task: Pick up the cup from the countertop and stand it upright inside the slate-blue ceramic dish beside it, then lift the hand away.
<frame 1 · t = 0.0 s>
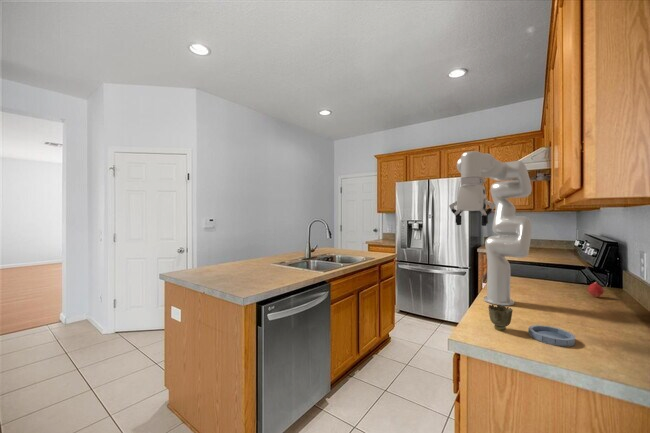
hand: (471, 225, 114), 37 cm above the table, tool pointing down, fingers open, 9 cm apart
dish: (551, 338, 95), on the table
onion: (595, 297, 144), on the table
cup: (500, 330, 102), on the table
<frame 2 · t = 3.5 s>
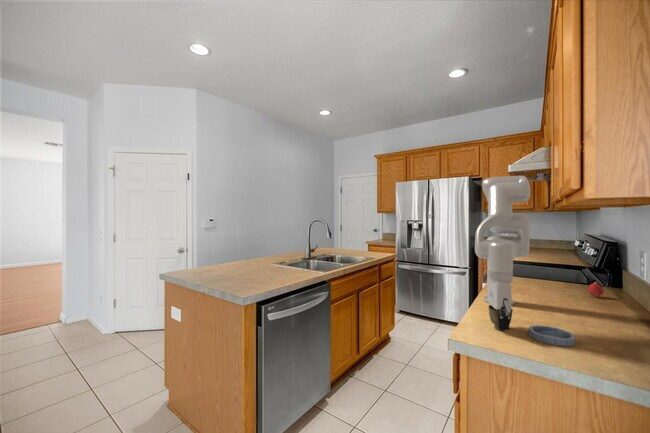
hand: (500, 325, 102), 2 cm above the table, tool pointing down, fingers closed on cup, 6 cm apart
cup: (500, 329, 102), on the table, touching gripper
everything else where it was.
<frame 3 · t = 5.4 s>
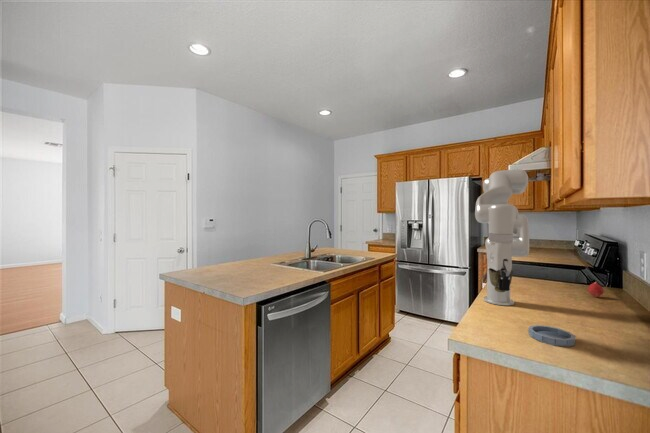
hand: (500, 287, 103), 15 cm above the table, tool pointing down, fingers closed on cup, 6 cm apart
cup: (500, 291, 103), point 13 cm above the table, touching gripper
everything else where it was.
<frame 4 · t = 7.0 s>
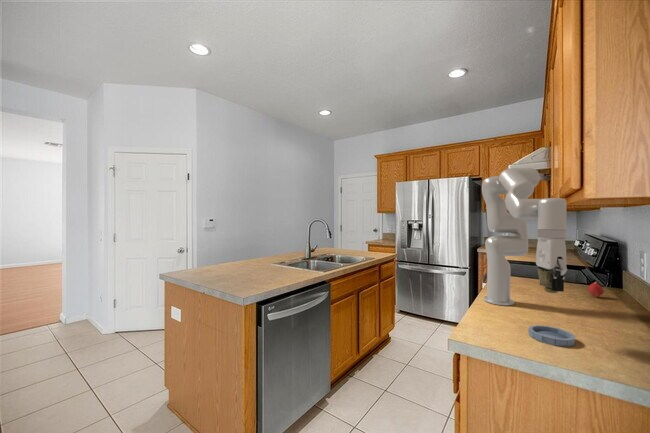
hand: (551, 287, 95), 17 cm above the table, tool pointing down, fingers closed on cup, 6 cm apart
cup: (551, 292, 95), point 15 cm above the table, touching gripper
everything else where it was.
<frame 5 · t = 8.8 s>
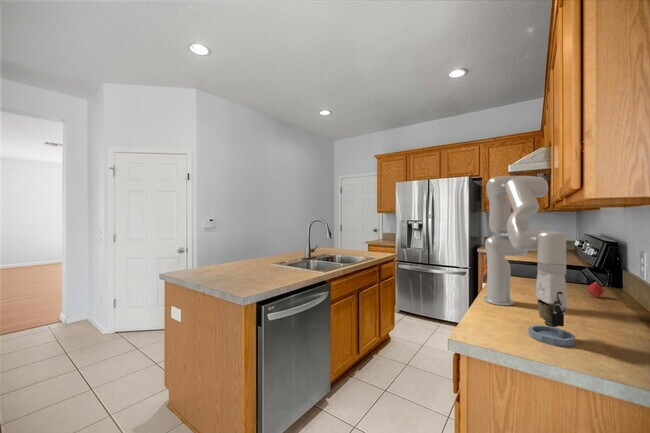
hand: (551, 321, 95), 6 cm above the table, tool pointing down, fingers closed on cup, 6 cm apart
cup: (551, 326, 95), point 4 cm above the table, touching gripper
everything else where it was.
when the fingers open (4 cm above the table, at t = 10.3 s): cup drops 1 cm, resting on dish.
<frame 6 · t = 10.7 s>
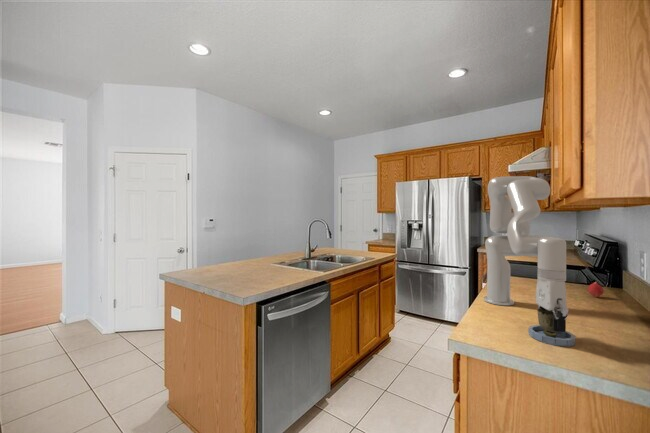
hand: (551, 325, 95), 4 cm above the table, tool pointing down, fingers open, 9 cm apart
cup: (549, 336, 95), point 1 cm above the table, touching dish
everything else where it was.
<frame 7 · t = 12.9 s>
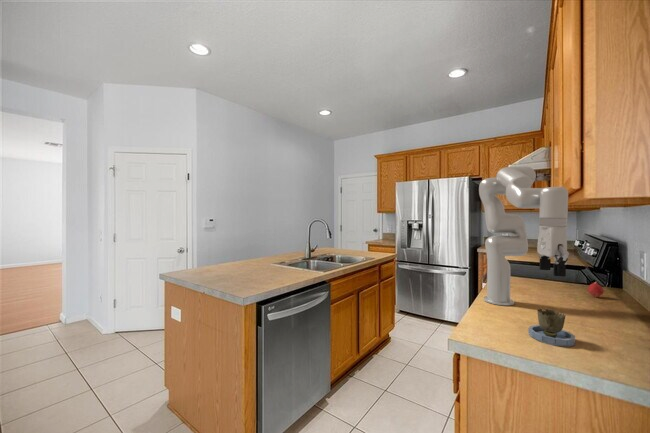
hand: (551, 272, 97), 22 cm above the table, tool pointing down, fingers open, 9 cm apart
nothing on the table moved.
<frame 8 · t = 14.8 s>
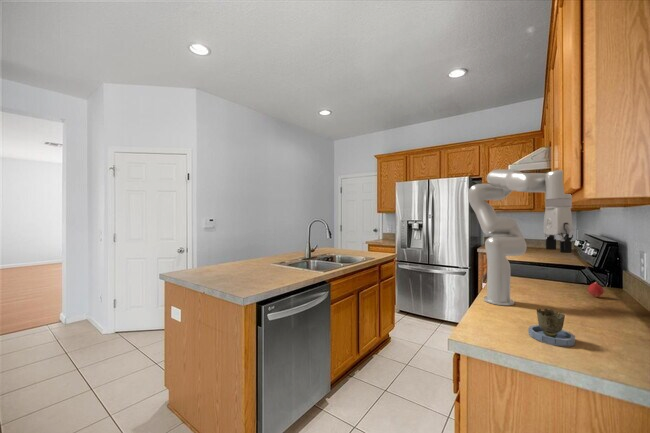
hand: (557, 251, 104), 28 cm above the table, tool pointing down, fingers open, 9 cm apart
nothing on the table moved.
at the end: cup 0.3 cm off-centre on the dish, point 0.7 cm above the dish's base; cup tilted 2°; the gripper is holding nothing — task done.
